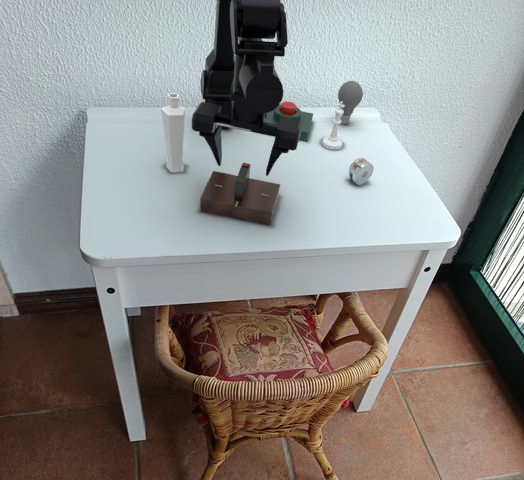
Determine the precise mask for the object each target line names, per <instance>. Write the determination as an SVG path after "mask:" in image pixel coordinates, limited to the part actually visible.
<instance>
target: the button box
mask: <svg viewBox="0 0 524 480" xmlns="http://www.w3.org/2000/svg"><path fill="white" fill-rule="evenodd" d="M281 104H282V103H280V104H279V105H278V107H277V108H276V109H274V110H273V111H271V112H269V113H267V117H266V118H264V122H266V123H271V124H276V125H278V124H279V121H280V118H286V119H291V120H296V121H300V123H301V125H302V127H301V133H300V138H299V141H304V142H308V139H309V135H310V132H311V131H310V130H311V127H312V122H313V117H314V113H312V112H307V111H303V110H301V109H300V107H297V106H296V111H295V114H294V115H286V114H283V113H281V112H280V110H281Z"/></svg>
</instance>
